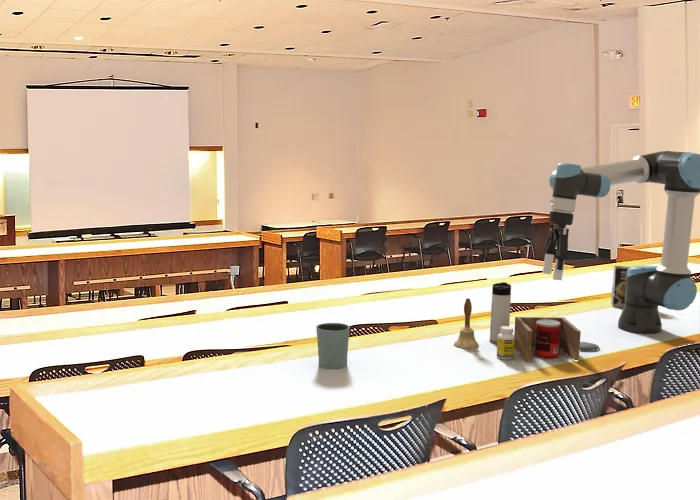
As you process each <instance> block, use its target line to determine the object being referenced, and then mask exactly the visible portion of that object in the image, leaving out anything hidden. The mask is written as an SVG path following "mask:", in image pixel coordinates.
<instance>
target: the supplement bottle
mask: <svg viewBox="0 0 700 500" xmlns="http://www.w3.org/2000/svg"><path fill="white" fill-rule="evenodd" d="M500 332H501V333H500V334H498V341H497V344H496V358H497V359H501V360H505V361H507V360H513V359H514V356H515V347H514V346H515V336H514V327H513V326H510V325H509V326H502V327H501V329H500Z"/></svg>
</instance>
